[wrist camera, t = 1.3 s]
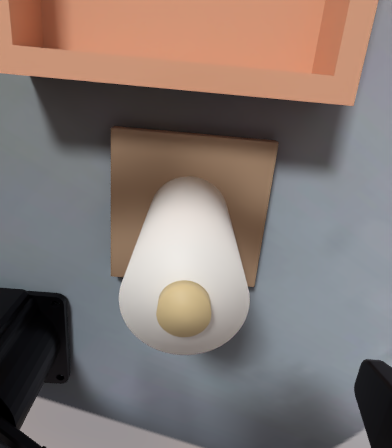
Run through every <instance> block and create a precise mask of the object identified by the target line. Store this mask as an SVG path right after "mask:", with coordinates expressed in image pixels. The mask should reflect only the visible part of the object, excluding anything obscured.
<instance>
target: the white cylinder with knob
mask: <svg viewBox="0 0 392 448" xmlns="http://www.w3.org/2000/svg"><path fill="white" fill-rule="evenodd" d="M249 303H250V296H249V290H248V285H247V281H246V278H245V274H244V270H243V266H242V262H241V258H240V255H239V251H238V247H237V243H236V239H235V235H234V232H233V228H232V224H231V220H230V216H229V213H228V209H227V205H226V202H225V199H224V197H223V195H222V194H221V192H220V191H219V190H218V189H217V188H216V187H215V186H214V185H213V184H212V183H210V182H208V181H206V180H204V179H201V178H198V177H192V176H186V177H179V178H176V179H173V180H171V181H169V182H167V183H166V184H164V185H163V186H162V187H161V188H160V189H159V190H158V191H157V192H156V194H155V196H154V197H153V200H152V202H151V205H150V208H149V210H148V213H147V216H146V218H145V221H144V224H143V227H142V229H141V232H140V235H139V237H138V240H137V243H136V245H135V248H134V251H133V254H132V256H131V259H130V262H129V264H128V267H127V270H126V272H125V275H124V278H123V281H122V283H121V287H120V291H119V306H120V311H121V314H122V317H123V319H124V321H125V323H126V325H127V326H128V328H129V329H130V330H131V332H132V333H133V334H134V335H135V336H136V337H137V338H138V339H140V340H141V341H142V342H144V343H145V344H147V345H148V346H150V347H152V348H154V349H156V350H159V351H162V352H166V353H170V354H177V355H193V354H200V353H204V352H208V351H211V350H213V349H215V348H218V347H220V346H221V345H223V344H225V343H226V342H227V341H229V340H230V339H231V338H232V337H233V336H234V335H235V334H236V333H237V332H238V331H239V330H240V328H241V327H242V325H243V323H244V322H245V319H246V317H247V314H248V310H249Z"/></svg>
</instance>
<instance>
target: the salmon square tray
mask: <svg viewBox="0 0 392 448" xmlns="http://www.w3.org/2000/svg"><path fill="white" fill-rule="evenodd" d="M377 4H378V0H0V73H5V74H16V75H27V76H37V77H48V78H59V79H69V80H80V81H91V82H102V83H112V84H123V85H134V86H144V87H155V88H166V89H177V90H187V91H198V92H209V93H219V94H230V95H241V96H252V97H262V98H273V99H284V100H294V101H305V102H316V103H327V104H337V105H348V106H354V101H355V97H356V93H357V89H358V85H359V80H360V76H361V72H362V68H363V63H364V59H365V55H366V51H367V47H368V42H369V38H370V34H371V30H372V25H373V21H374V17H375V13H376V9H377Z"/></svg>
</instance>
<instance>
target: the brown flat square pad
mask: <svg viewBox="0 0 392 448" xmlns="http://www.w3.org/2000/svg"><path fill="white" fill-rule="evenodd" d="M278 144H279V143H278V142H277V141H275V140H265V139H254V138H243V137H232V136H220V135H209V134H198V133H187V132H176V131H164V130H153V129H142V128H131V127H120V126H114V127H112V128H111V276H115V277H124V275H125V272H126V270H127V267H128V264H129V262H130V259H131V256H132V254H133V251H134V248H135V245H136V243H137V240H138V237H139V235H140V232H141V229H142V227H143V224H144V221H145V218H146V216H147V213H148V210H149V208H150V205H151V202H152V200H153V197H154V196H155V194H156V192H157V191H158V190H159V189H160V188H161V187H162V186H163V185H164V184H166V183H167V182H169V181H171V180H173V179H176V178H179V177H186V176H192V177H198V178H201V179H204V180H206V181H208V182H210V183H212V184H213V185H214V186H215V187H216V188H217V189H218V190H219V191H220V192H221V194H222V195H223V197H224V199H225V202H226V205H227V209H228V213H229V216H230V220H231V224H232V228H233V232H234V235H235V239H236V243H237V247H238V251H239V255H240V258H241V262H242V266H243V270H244V274H245V278H246V281H247V285H248V287H254V285H255V279H256V273H257V267H258V261H259V256H260V250H261V244H262V238H263V232H264V226H265V220H266V214H267V208H268V203H269V197H270V191H271V185H272V179H273V173H274V167H275V161H276V156H277V150H278Z"/></svg>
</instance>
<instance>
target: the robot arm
mask: <svg viewBox="0 0 392 448" xmlns="http://www.w3.org/2000/svg"><path fill="white" fill-rule="evenodd" d="M54 301H58V302H59V304H56V303H55V302H54ZM60 374H61V375H63V376H61V375H60ZM69 376H70V360H69V342H68V323H67V305H66V298H65V297H64V296H63V295H62V294H59V293H49V292H36V291H26V290H23V289H9V288H0V448H46V447H45V446H43V447H41V446H40V445H39V444H37V443H36V442H35V441H33V440H32V439H31V438H29V437H28V436H27V435H25V434H24V433H23V432H21V431H20V428H21V426H22V424H23V422H24V420H25V418H26V416H27V414H28V412H29V410H30V408H31V406H32V404H33V402H34V401H35V399H36V397H37V395H38V393H39V391H40V389H41V387H42V385H43V383H44V382H45V383H60V384H61V383H65V382H67V380H68V378H69ZM354 392H355V397H356V400H357V403H358V407H359V410H360V413H361V416H362V419H363V423H364V426H365V429H366V432H367V436H368V439H369V442H370V445H371V448H392V367H390V366H389V365H387V364H386V363H385V362H383V361H381V360H371V359H366V360H363V362H362V363H361V366H360V369H359V372H358V375H357V378H356V382H355V385H354Z"/></svg>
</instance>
